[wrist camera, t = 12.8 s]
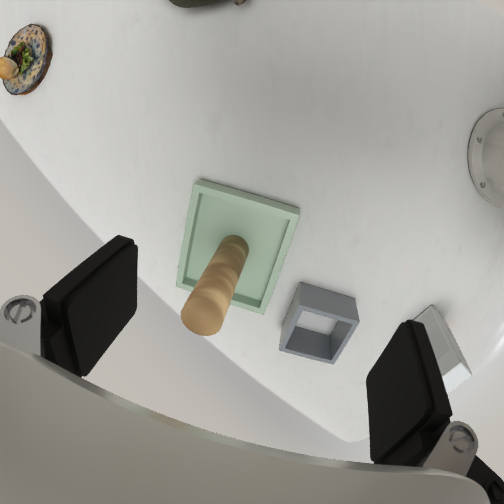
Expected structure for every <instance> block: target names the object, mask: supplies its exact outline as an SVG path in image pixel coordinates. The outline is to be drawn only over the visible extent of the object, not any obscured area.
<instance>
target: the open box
mask: <svg viewBox="0 0 504 504" xmlns="http://www.w3.org/2000/svg"><path fill="white" fill-rule="evenodd" d="M302 310H304V311H308V312H311V313H315V314H318V315H322V316H325V317H329V318H332V319H336V320H339V321H338V323H337V324H336V326H335V328H334V330H333V332H332V334H331V335H330V336H328V335H324V334H320V333H317V332H313V331H309V330H306V329H302V328H299V327H295V325H296V323H297V321H298V319H299V316H300V314H301V312H302ZM359 322H360V321H359V316H358V311H357V306H356V302H355V298H352V297H348V296H345V295H342V294H338V293H335V292H332V291H328V290H325V289H322V288H319V287H315V286H312V285H309V284H305V283H302V282H300V284H299V287H298V289H297V291H296V294H295V296H294V299H293V301H292V303H291V306H290V308H289V311H288V313H287V315H286V318H285V320H284V322H283V325H282V329H281V337H280V344H279V350H280V351H283V352H287V353H290V354H294V355H298V356H302V357H306V358H309V359H313V360H317V361H321V362H325V363H330V364H334V363H335V362H336V360H337V359H338V357H339V355H340V354H341V352H342V351H343V349H344V347H345V346H346V344H347V342H348V341H349V339H350V337H351V336H352V334H353V332H354V331H355V329H356V327H357V325H358V324H359Z"/></svg>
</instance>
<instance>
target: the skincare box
mask: <svg viewBox="0 0 504 504" xmlns="http://www.w3.org/2000/svg"><path fill="white" fill-rule="evenodd" d="M414 321H417V322H421V323H423V324H424V326H425V328H426V331H427V334H428V337H429V339H430V342H431V345H432V348H433V351H434V354H435V357H436V360H437V363H438V366H439V369H440V372H441V375H442V379H443V382H444V385H445V389H446V392H447V393H449V392H450V391H452V390H453V389H455V388H456V387H457V386H459V385H460V384H462V383H463V382H464V381H466V380H467V379H468V378H470V377H471V376H472V373H471V371H470V369H469V366H468V364H467V362H466V360H465V358H464V356H463V354H462V352H461V350H460V348H459V346H458V344H457V342H456V340H455V338H454V336H453V334H452V332H451V330H450V328H449V327H448V325H447V323H446V321H445V319H444V318H443V317H442V316H441V315H440V313H439V312H438V311H437V310H436V309H435V308H434V306H433V305H431V306H430V307H428V308H427V309H426V310H425V311H424V312H423V313H421V314H420V315H419V316H418V317H417V318H415V319H414Z"/></svg>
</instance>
